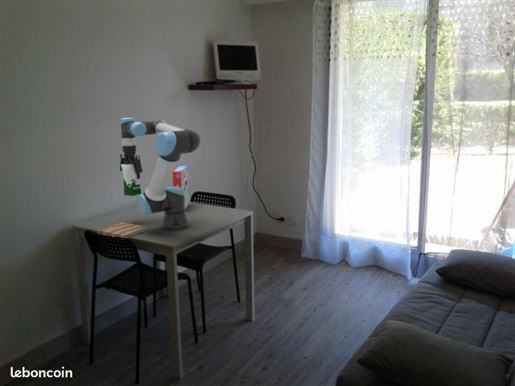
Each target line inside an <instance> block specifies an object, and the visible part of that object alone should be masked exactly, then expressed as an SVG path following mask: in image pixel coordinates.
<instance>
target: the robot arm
mask: <svg viewBox="0 0 515 386" xmlns="http://www.w3.org/2000/svg"><path fill="white" fill-rule="evenodd" d="M119 126H120V132H121V144H122V147H121V149H122V154H119V156H120V162H119V163H120V164H119V171H120V172H122V173H123V171H122V167H121V165H122V164H124V161H130V162H131V163H132V165H134V170H135V172H136V173H135V183H136V185H138V184H140V185H141V180H140V179H141V173H143V167H142V163H141V156H140V155H139V154H138V155H137V153H136V152H137V146H136V143H137V142H136V137H142V136H149V135H152V136H153V135H157V136H156V139H155V141H154V148H155V152H156V153H157V156H158V159H157V162H156V165H155V167H154V170H153V174H152V176H151V180H150V183H149V185H148V186H147V187H145V189H144V191H143V193H142V192H141V194H139V195H137V204H138V207H139V209H140V211H141V212H142V213H143V214H144V215H152V214H156V213H161V212H164V214H163V220H162V222H161V227H162V229H163V230H169V231H177V230H178V231H179V230H184V229H186V228H188V227H189V226H190V224H189V220H188V217H187V215H186V214H187V213H186V209H185V200H184V196H185V195H184V190H183V189H182V188H180V187H173V185H172V186H171V185H170V186H168V184H169V180H170V179H171V175H172V174H173V171H174V170H173V169H174V167H175V165H176V163H177V162H179V161H180V159H181V157H182V155H184V154H191V153H194V152H195V151H197V150H198V149H199V147H200V145H201V136H200V135H199V132H197V131H196V130H194V129H191V128H180V127H177V126H174V125H171V124H169V123H167V122H166V121H165V120H151V121H146V120H145V121H135V119H134V118H133V117H122V118H121V119H120V125H119Z"/></svg>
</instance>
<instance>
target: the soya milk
mask: <svg viewBox="0 0 515 386" xmlns="http://www.w3.org/2000/svg"><path fill="white" fill-rule="evenodd" d="M121 167H122V171H123V172H122V171H121V172H122V178H123V195H124V196H130V197H134V196H138V195H139V194H141V193H142V191H141V189H142V188H141V183H140V184H138V185H136V183H135V173H136V172H135V170H134V165H132V163H131V162H130V161H124V164H122V165H121Z"/></svg>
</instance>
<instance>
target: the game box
mask: <svg viewBox="0 0 515 386" xmlns="http://www.w3.org/2000/svg"><path fill="white" fill-rule="evenodd" d="M188 177H189V176H188V166H187V165H183V166H181V165H180V166H177V168H175V169H174V170H172V184H173V185H172V187H180V188H182V189H183V190H184V195H185V196H184V200H185V210H186V209H187V208H188V207H189V205H190V204H189V202H190V200H189V199H190V198H189V183H188Z"/></svg>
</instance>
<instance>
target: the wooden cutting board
mask: <svg viewBox="0 0 515 386" xmlns="http://www.w3.org/2000/svg"><path fill="white" fill-rule="evenodd" d="M96 232H97V234H98V235H101V234H102V236H106V235H107V236H106V237H110V236H112V237H111V238H114V237H121V238H125V239H128V238H131V237H133V236H137V235H139V234H143V233H145V232H148V226H142V225H139V224H134V223H129V222H119V223H116V224H112V225H110V226H107V227H103V228H99V229H97V231H96Z"/></svg>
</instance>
